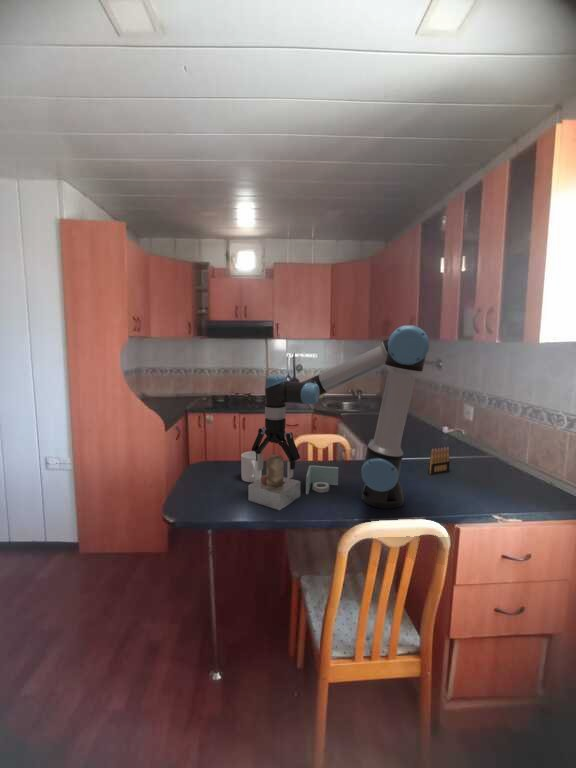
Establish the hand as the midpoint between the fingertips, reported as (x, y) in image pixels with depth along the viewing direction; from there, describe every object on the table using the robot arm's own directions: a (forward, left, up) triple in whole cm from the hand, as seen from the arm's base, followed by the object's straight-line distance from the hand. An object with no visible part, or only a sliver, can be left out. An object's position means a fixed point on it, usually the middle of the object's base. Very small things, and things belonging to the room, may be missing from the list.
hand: (274, 473), depth 136 cm
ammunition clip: (-46, -64, -10) cm, 79 cm away
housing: (0, 0, -10) cm, 10 cm away
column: (0, 0, -10) cm, 10 cm away
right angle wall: (-11, -18, -10) cm, 23 cm away
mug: (+18, -9, -10) cm, 22 cm away
